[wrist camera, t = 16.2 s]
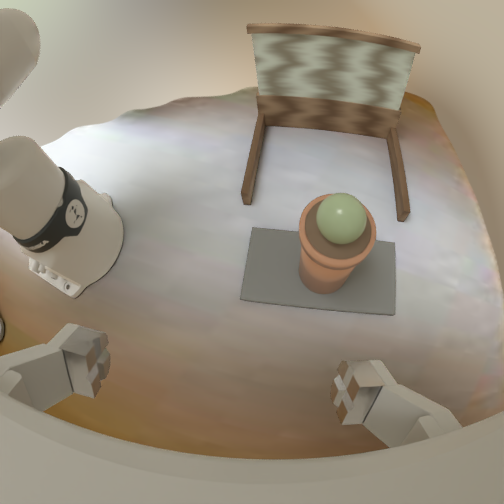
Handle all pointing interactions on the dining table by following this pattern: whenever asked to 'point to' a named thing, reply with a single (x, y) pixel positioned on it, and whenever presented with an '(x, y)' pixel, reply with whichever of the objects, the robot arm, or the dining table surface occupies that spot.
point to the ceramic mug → (1, 329)
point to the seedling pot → (333, 240)
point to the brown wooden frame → (330, 88)
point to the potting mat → (298, 295)
